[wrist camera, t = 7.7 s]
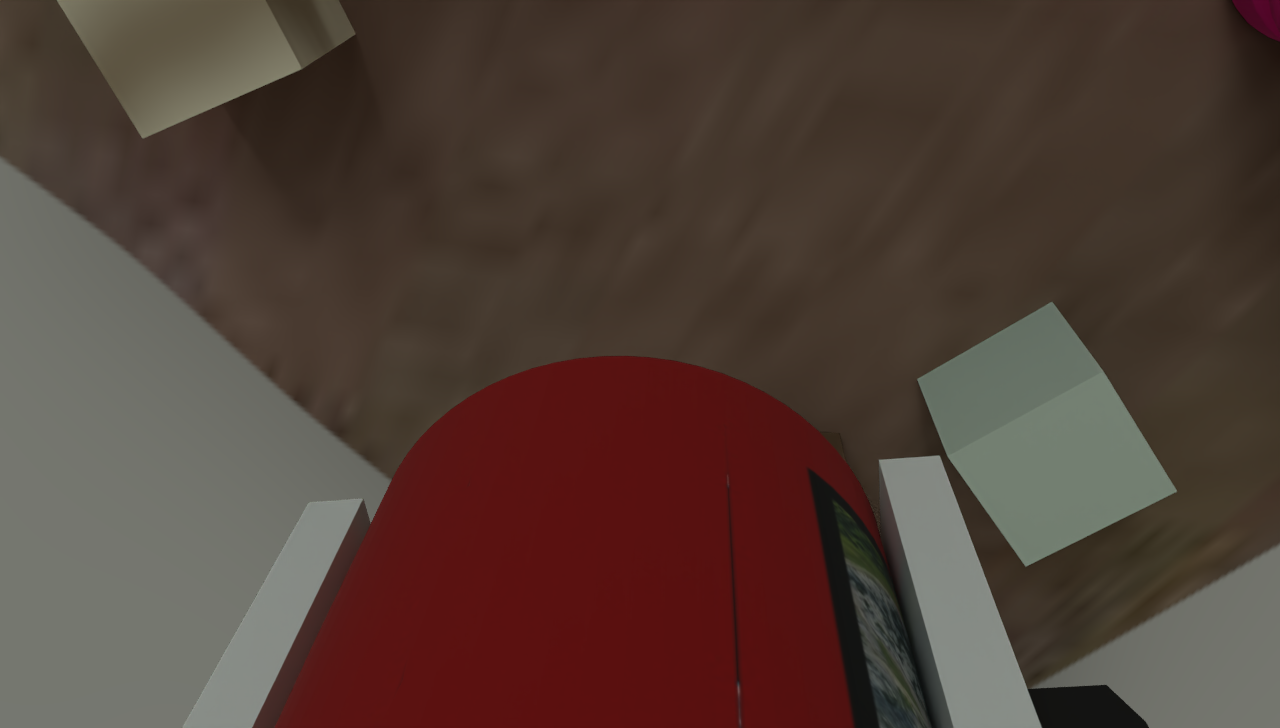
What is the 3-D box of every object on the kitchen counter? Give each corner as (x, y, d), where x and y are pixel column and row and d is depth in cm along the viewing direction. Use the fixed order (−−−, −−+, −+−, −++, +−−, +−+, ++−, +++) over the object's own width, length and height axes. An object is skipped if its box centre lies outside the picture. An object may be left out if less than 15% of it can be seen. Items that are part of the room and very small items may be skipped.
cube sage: (916, 378, 36) (947, 456, 32) (1051, 300, 35) (1103, 371, 30) (987, 479, 38) (1025, 566, 34) (1118, 409, 37) (1177, 491, 32)
